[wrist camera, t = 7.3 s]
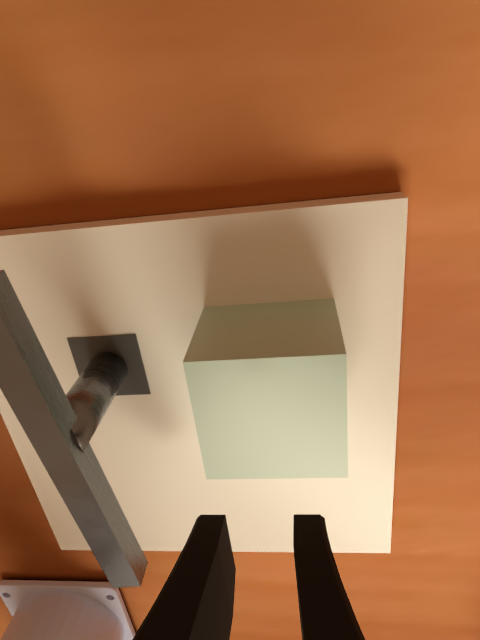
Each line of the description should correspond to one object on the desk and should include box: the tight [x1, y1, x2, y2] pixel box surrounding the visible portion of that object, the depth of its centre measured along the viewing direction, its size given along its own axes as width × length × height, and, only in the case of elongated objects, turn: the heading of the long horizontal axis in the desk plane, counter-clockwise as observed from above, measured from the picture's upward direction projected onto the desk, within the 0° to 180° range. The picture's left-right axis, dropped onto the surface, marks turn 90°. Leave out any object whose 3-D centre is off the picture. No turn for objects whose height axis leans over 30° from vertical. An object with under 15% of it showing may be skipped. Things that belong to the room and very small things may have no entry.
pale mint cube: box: [183, 298, 348, 479], centre depth 17 cm, size 5×5×4 cm
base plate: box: [0, 192, 408, 553], centre depth 21 cm, size 18×18×1 cm
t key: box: [0, 270, 148, 588], centre depth 17 cm, size 2×13×5 cm, turn 14°
